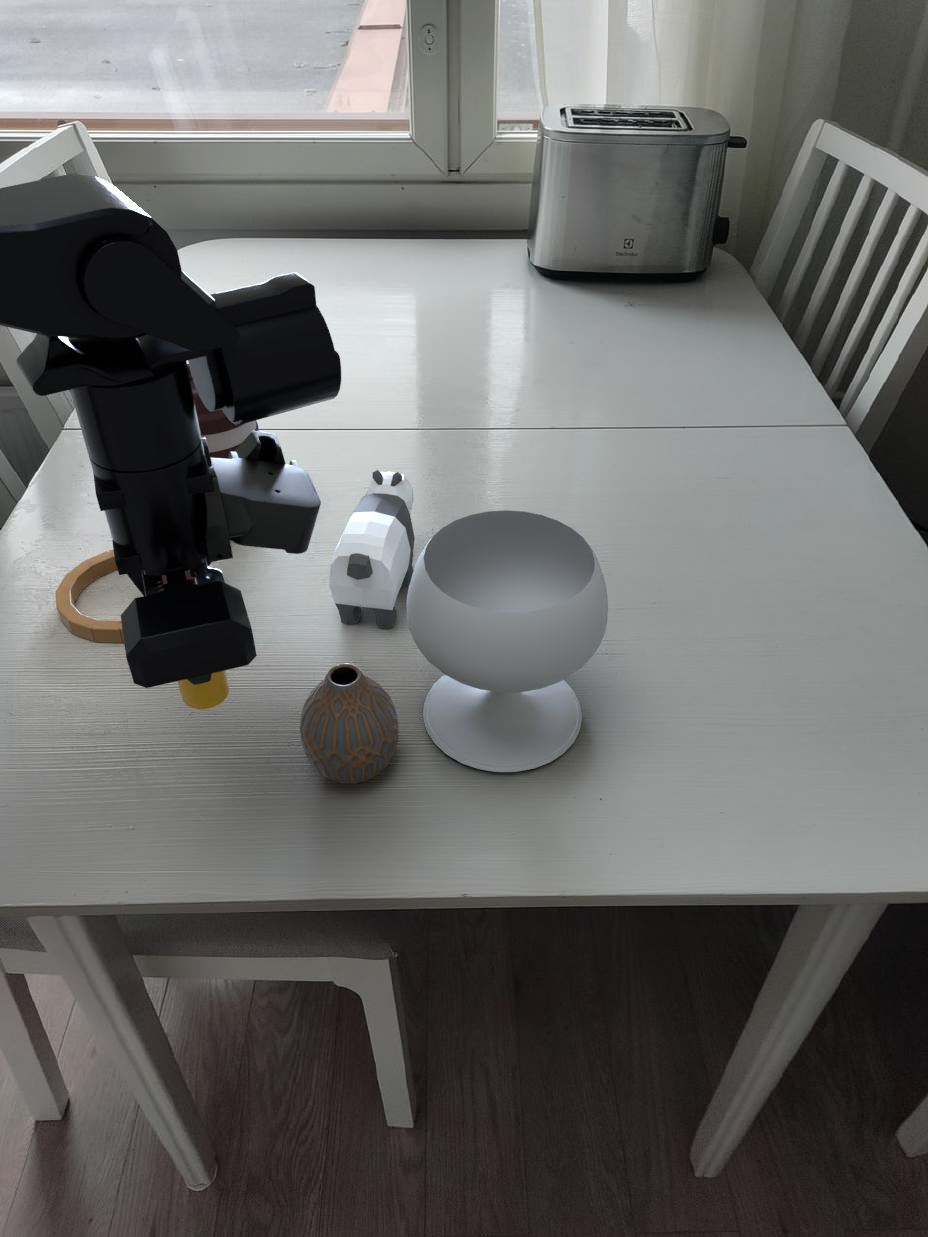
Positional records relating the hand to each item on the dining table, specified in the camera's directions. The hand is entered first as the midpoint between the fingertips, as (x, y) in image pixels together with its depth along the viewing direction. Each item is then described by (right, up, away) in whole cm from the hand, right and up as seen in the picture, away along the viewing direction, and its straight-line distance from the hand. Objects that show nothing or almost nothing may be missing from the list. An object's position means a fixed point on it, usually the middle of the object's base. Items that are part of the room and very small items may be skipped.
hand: (198, 664), depth 60 cm
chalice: (+20, -5, +14) cm, 24 cm away
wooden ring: (-13, +5, +25) cm, 28 cm away
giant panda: (+9, +6, +26) cm, 28 cm away
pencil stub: (0, -2, +2) cm, 2 cm away
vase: (+9, -8, +10) cm, 15 cm away
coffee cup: (-7, +12, +34) cm, 37 cm away
